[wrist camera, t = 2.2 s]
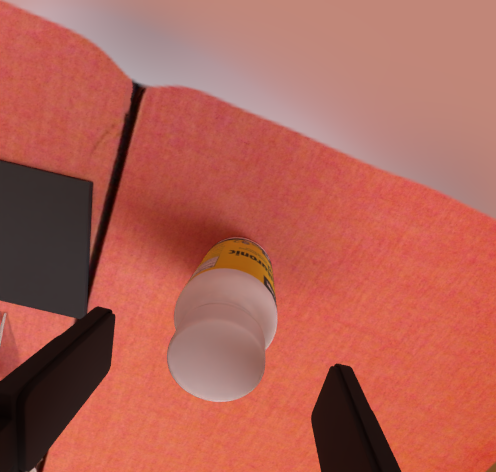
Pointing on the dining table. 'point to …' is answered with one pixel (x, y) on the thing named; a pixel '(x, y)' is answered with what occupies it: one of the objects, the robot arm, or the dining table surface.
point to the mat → (44, 239)
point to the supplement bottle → (224, 322)
